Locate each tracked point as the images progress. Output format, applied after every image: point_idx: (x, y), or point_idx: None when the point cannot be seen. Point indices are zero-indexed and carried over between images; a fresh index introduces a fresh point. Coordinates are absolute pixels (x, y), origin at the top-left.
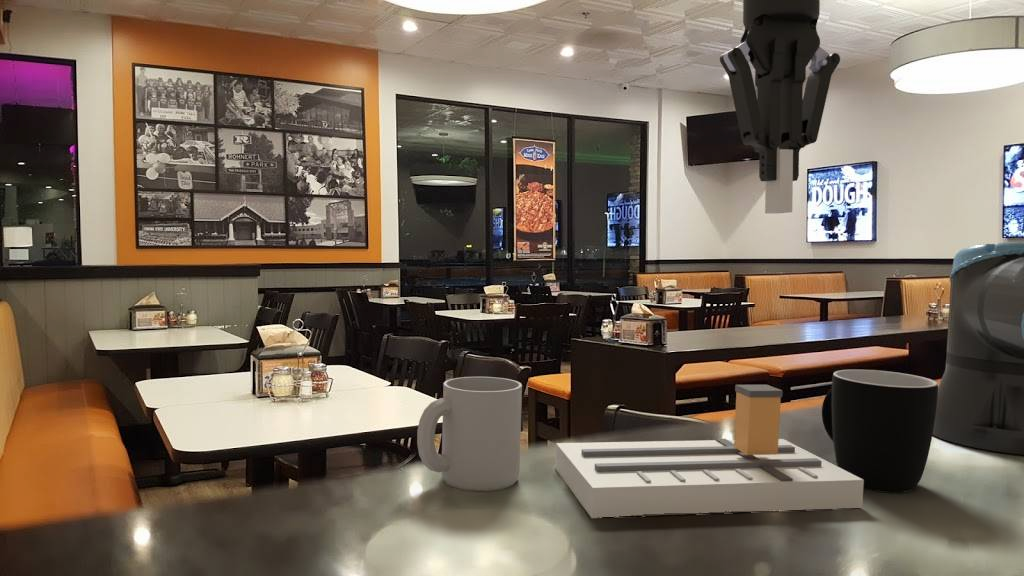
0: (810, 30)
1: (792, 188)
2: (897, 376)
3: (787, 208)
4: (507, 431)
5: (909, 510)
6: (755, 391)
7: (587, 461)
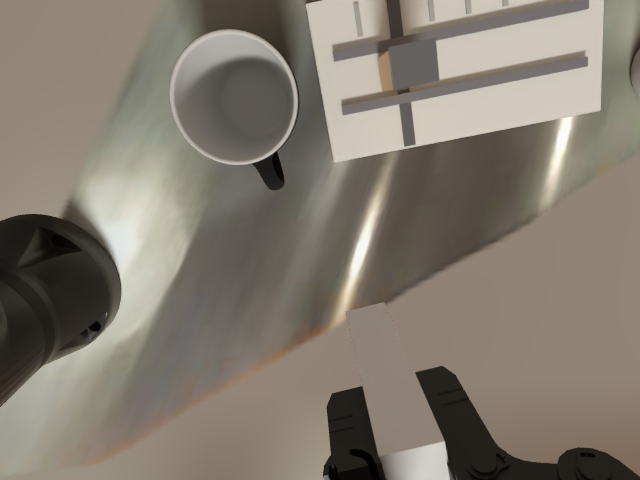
0: None
1: (354, 350)
2: (198, 144)
3: (361, 313)
4: None
5: (259, 11)
6: (427, 39)
7: (584, 39)
